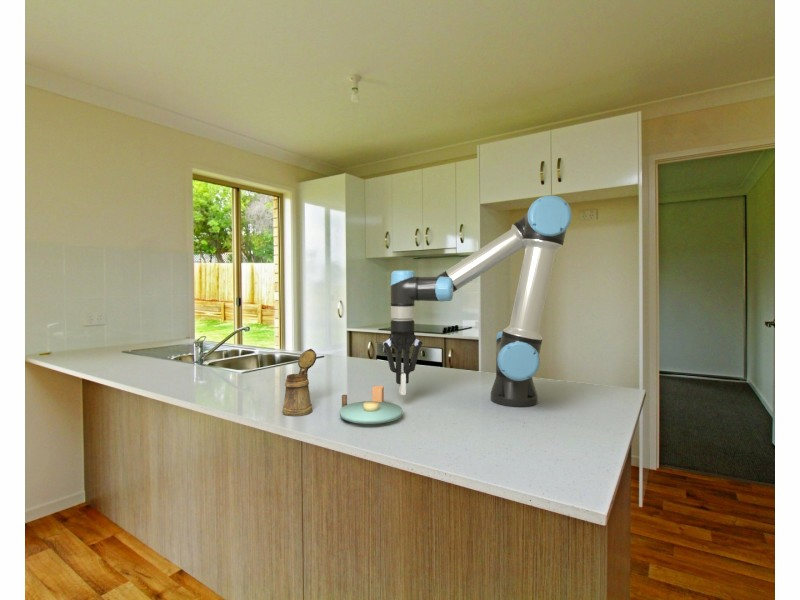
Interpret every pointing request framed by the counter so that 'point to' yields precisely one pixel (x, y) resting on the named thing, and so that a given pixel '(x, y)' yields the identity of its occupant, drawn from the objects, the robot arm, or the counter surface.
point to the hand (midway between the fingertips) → (402, 393)
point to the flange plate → (370, 416)
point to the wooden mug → (299, 387)
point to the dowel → (344, 400)
